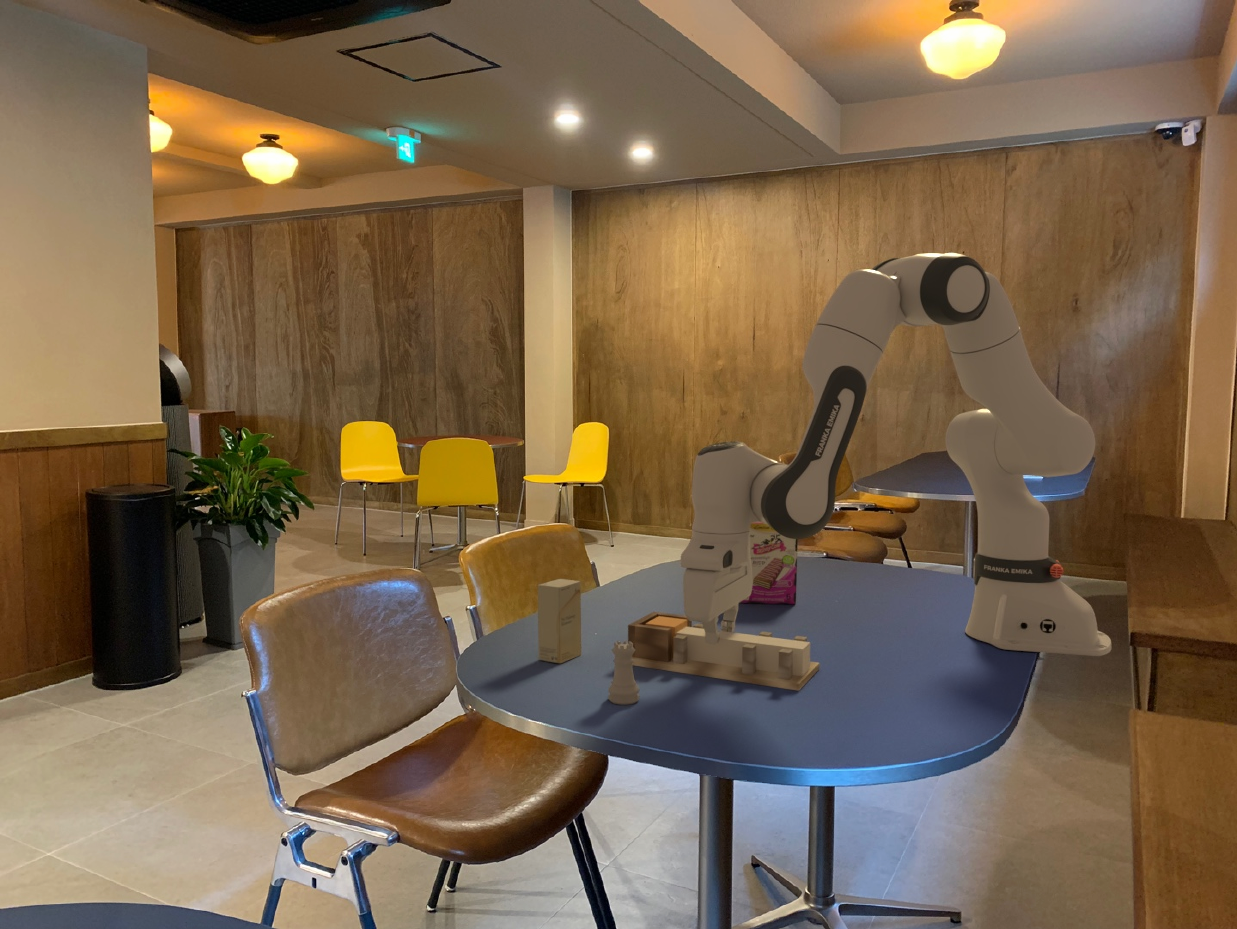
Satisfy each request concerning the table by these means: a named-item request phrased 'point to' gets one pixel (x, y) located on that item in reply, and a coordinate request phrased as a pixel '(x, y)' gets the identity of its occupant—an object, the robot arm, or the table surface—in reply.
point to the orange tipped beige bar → (735, 647)
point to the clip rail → (657, 654)
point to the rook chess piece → (623, 676)
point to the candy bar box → (772, 566)
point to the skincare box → (559, 620)
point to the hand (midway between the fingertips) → (720, 637)
